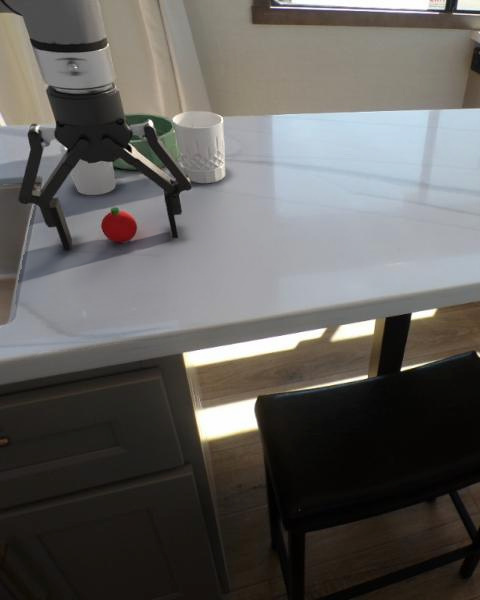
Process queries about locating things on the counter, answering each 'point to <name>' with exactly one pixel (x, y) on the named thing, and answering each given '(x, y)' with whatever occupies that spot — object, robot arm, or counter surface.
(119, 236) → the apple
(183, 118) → the white cup
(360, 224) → the counter surface
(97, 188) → the white cylinder
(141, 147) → the bowl
